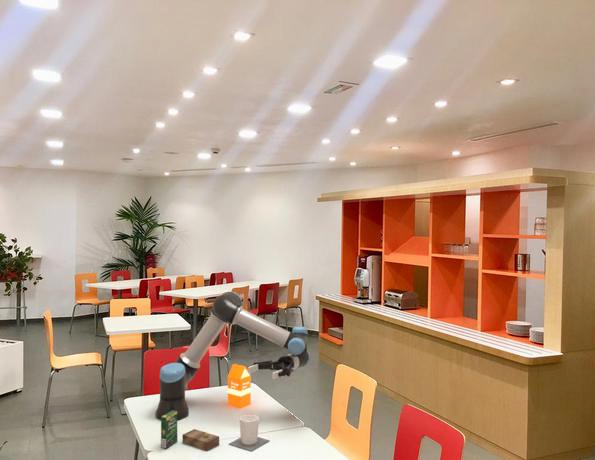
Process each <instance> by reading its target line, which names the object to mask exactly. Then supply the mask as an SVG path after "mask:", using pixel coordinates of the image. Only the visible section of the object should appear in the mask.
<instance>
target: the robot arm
mask: <svg viewBox="0 0 595 460" xmlns="http://www.w3.org/2000/svg"><path fill="white" fill-rule="evenodd" d="M229 324H230V325H232V326H234V325H236V326H237V325H238V326H239V327H241V328H243V329H246V330H248V331H249V332H251V333H254V334H256V335H258V336H260V337H262V338H264V339H266V340H268V341H270V342H272V343H274V344H276V345H278V346H280V347H283V348H284V349H286V350H288V351H289V354H287V355H283V356H280V357H279V358H278V360H275V361H273V360H271V359H269V360H266V361H258V362H257V361H256V362H253V364H252V365H251V366H248V367H247V370H248V373H249V374H252V373H254V372H258V371H259V370H271V371H274V372H272V373H271V378H272V380H276V379H279V378H280V377H291V374H292V372H294V371H295V370H296V369H298V368H301V367H304V366H307V365H308V364H309V363H310V361H311V359H312V357H311V354H310V353H311V352H309V350H308V336H309V334H308V328H307V327H305V326H294V327H292V331H288V330H287V329H285V328H282V327H280V326H278V325H276V324H274V323H273V322H271V321H268V320H266V319H264V318H262V317H260V316H259V315H257V314H254V313H252V312H250V311H247V310H246V309H243V300H242V298H241V296H240V295H239V293H237V292H234V291H226V292H223V293H222V294H221V295H218V296H217V297H215V299H214V300H213V303H212V307H211V309H210V316H209V317H208V319H207V320H206V322H205V324H203V326H202V328H201V329H200V331H199V332H198V333H197V335H196V337H195V338H194V339H193V341H192V343H191V344H190V345H189V347H188V349H187V350H186V351H185V352H181V353H180V355H179V356H178V357H177V359H176V360H175V362H170V363H168V364H165V365H163V366H161V368H160V371H159V401H158V404H157V405H158V406H157V409H156V410H155V417H157V418H158V419H157V418H156V419H157V420H159V419H160V420H159V421H161V417H162V416H164V415H165V414H167V413H169V412H170V411H172V410H174V411H177V421H178V420H179V421H180V420H182V419H185V418H187V417H189V406H188V403H187V399H186V385H188V384H189V382H191V381H192V380H193V379H194V378H195V377H196V374H197V372H198V370H199V369H200V368H201V360H202V359H203V357H204V356H205V355H206V354H207V352H208V350H209V349H210V347H211V346H212V345H213V343H214V341H216V339H217V337H218V336H219V334H220V333H221V331H222V330H223V329H224V328H225V325H229Z"/></svg>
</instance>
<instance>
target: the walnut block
mask: <svg viewBox="0 0 595 460" xmlns="http://www.w3.org/2000/svg"><path fill="white" fill-rule="evenodd" d="M182 444H184V445H187V446H191V447H192V448H193V447H194V448H196V449H200V450H202V451H206V452H209V451H211V450H213V449H215V448H216V447H218V446H220V436H219V435H215V434H212V433H210V432H206V431H202V430H199V429H196V428H193V429H192V430H190V431H187V432H186V433H183V434H182Z"/></svg>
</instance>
